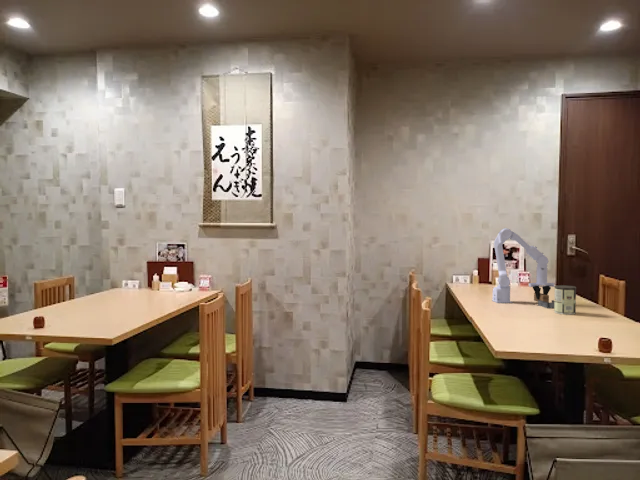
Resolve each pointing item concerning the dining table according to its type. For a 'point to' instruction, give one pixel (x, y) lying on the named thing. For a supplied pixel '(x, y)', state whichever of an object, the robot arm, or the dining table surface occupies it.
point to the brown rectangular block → (542, 297)
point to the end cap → (546, 304)
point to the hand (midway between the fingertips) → (541, 298)
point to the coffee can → (565, 299)
